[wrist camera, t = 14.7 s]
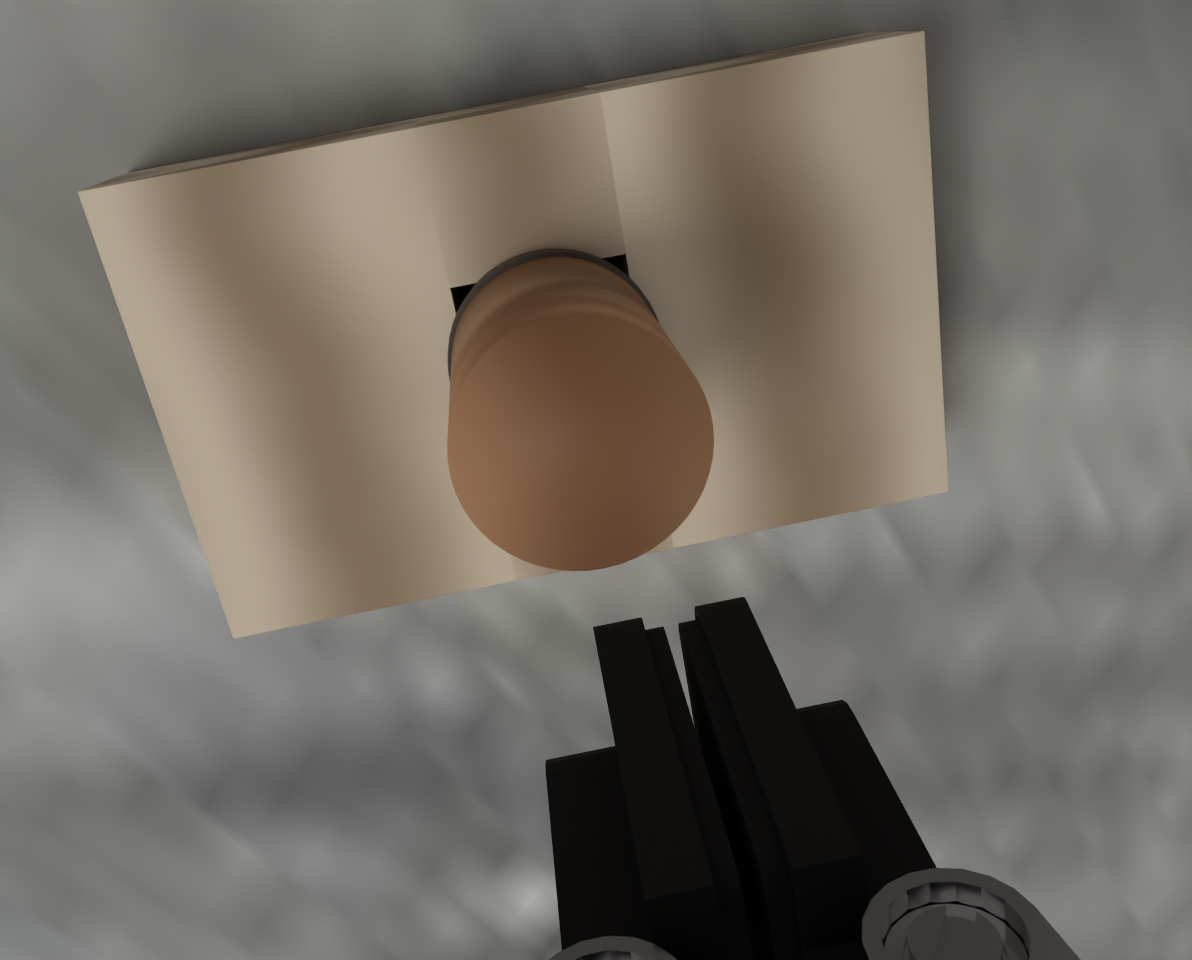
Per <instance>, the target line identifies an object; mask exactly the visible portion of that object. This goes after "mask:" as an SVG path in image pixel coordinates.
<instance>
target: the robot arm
mask: <svg viewBox="0 0 1192 960" xmlns="http://www.w3.org/2000/svg"><path fill="white" fill-rule="evenodd" d="M593 629H594V635H595V640H596V645H597V651H598V656H599V661H600V666H601V672H602V677H603V682H604V688H605V693H606V698H607V704H608V709H609V714H610V719H611V725H612V730H613V735H614V741H615V746H613V747H608V748H603V749H598V750H593V751H588V752H583V753H579V754H574V755H569V756H564V757H559V758H554V759H549V760H546V779H547V790H548V801H549V812H550V823H551V834H552V845H553V856H554V867H555V878H556V889H557V900H558V911H559V922H560V933H561V944H562V951H560V952H558V953H556V954H555V955H554V956H553V957H552V958H550V959H549V960H1080V959H1079V958H1078V956H1077V955H1076V954H1075V953H1074V952H1073V951H1072V949H1071V948H1070V947H1069V946H1068V945H1067V944H1066V942H1065V941H1064V940H1063V939H1062V938H1061V937H1060V935H1059V934H1058V933H1057V932H1056V931H1055V929H1054V928H1053V927H1052V926H1051V925H1050V924H1049V922H1048V921H1047V920H1046V919H1045V918H1044V917H1043V915H1042V914H1041V913H1040V912H1039V911H1038V910H1037V908H1036V907H1035V906H1034V905H1033V904H1031V903H1030V902H1029V901H1028V900H1027V899H1026V898H1025V897H1023V896H1022V895H1021V894H1020V893H1019V892H1018V891H1017V890H1016V889H1014V888H1012V887H1010V886H1008V885H1006V884H1004V883H1002V882H1001V881H999V880H997V879H995V878H993V877H991V876H988V875H984V874H980V873H976V872H972V871H968V870H965V869H951V868H936V866H935V864H934V862H933V860H932V858H931V856H930V855H929V853H928V851H927V849H926V847H925V845H924V843H923V842H922V840H921V838H920V836H919V834H918V832H917V830H916V829H915V827H914V825H913V823H912V821H911V819H910V817H909V816H908V814H907V812H906V810H905V808H904V806H903V804H902V803H901V801H900V799H899V797H898V795H897V793H896V791H895V790H894V788H893V786H892V784H891V782H890V780H889V778H888V777H887V775H886V773H885V771H884V769H883V767H882V765H881V764H880V762H879V760H878V758H877V756H876V754H875V752H874V751H873V749H872V747H871V745H870V743H869V741H868V739H867V737H866V736H865V734H864V732H863V730H862V728H861V726H860V724H859V723H858V721H857V719H856V717H855V715H854V713H853V711H852V710H851V708H850V707H849V705H848V704H847V702H845V701H843V700H839V701H834V702H829V703H824V704H819V705H814V706H809V707H804V708H799V709H796V707H795V705H794V703H793V701H792V699H791V696H790V694H789V692H788V690H787V688H786V686H785V683H784V681H783V679H782V677H781V675H780V673H779V670H778V668H777V666H776V664H775V662H774V659H773V657H772V655H771V653H770V651H769V649H768V646H767V644H766V642H765V640H764V638H763V635H762V633H761V631H760V629H759V627H758V625H757V622H756V620H755V618H754V616H753V614H752V612H751V609H750V607H749V605H748V603H747V601H746V599H745V598H744V597H740V598H735V599H730V600H725V601H720V602H715V603H710V604H705V605H700V606H695V620H693V621H688V622H683V623H679V634H680V641H681V647H682V653H683V659H684V665H685V671H686V678H687V684H688V690H689V696H690V702H691V708H692V714H693V720H694V725H693V721H692V718H691V715H690V712H689V708H688V705H687V702H686V698H685V695H684V692H683V689H682V685H681V682H680V679H679V675H678V672H677V669H676V666H675V662H674V659H673V656H672V652H671V649H670V646H669V643H668V639H667V636H666V633H665V630H664V627H658V628H653V629H648V630H645V628H644V624H643V621H642V618H636V619H631V620H626V621H621V622H616V623H611V624H606V625H601V626H596V627H593ZM694 727H695V728H694Z"/></svg>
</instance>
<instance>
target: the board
mask: <svg viewBox="0 0 1192 960" xmlns="http://www.w3.org/2000/svg"><path fill="white" fill-rule="evenodd" d="M78 194H79V197H80V200H81V202H82V205H83V208H84V211H85V214H86V217H87V220H88V222H89V225H90V228H91V231H92V234H93V237H94V240H95V243H96V245H97V248H98V251H99V254H100V257H101V260H102V263H103V265H104V268H105V271H106V274H107V277H108V280H109V283H110V285H111V288H112V291H113V294H114V297H115V300H116V303H117V306H118V308H119V311H120V314H121V317H122V320H123V323H124V326H125V328H126V331H127V334H128V337H129V340H130V343H131V346H132V349H133V351H134V354H135V357H136V360H137V363H138V366H139V369H140V371H141V374H142V377H143V380H144V383H145V386H146V389H147V392H148V394H149V397H150V400H151V403H152V406H153V409H154V412H155V414H156V417H157V420H158V423H159V426H160V429H161V432H162V435H163V437H164V440H165V443H166V446H167V449H168V452H169V455H170V457H171V460H172V463H173V466H174V469H175V472H176V475H177V478H178V480H179V483H180V486H181V489H182V492H183V495H184V498H185V500H186V503H187V506H188V509H189V512H190V515H191V518H192V521H193V523H194V526H195V529H196V532H197V535H198V538H199V541H200V543H201V546H202V549H203V552H204V555H205V558H206V561H207V564H208V566H209V569H210V572H211V575H212V578H213V581H214V584H215V586H216V589H217V592H218V595H219V598H220V601H221V604H222V607H223V609H224V612H225V615H226V618H227V621H228V624H229V627H230V629H231V632H232V635H233V638H239V637H244V636H249V635H254V634H259V633H264V632H268V631H273V630H278V629H283V628H288V627H293V626H298V625H302V624H307V623H312V622H317V621H322V620H327V619H332V618H337V617H341V616H346V615H351V614H356V613H361V612H366V611H371V610H375V609H380V608H385V607H390V606H395V605H400V604H405V603H410V602H414V601H419V600H424V599H429V598H434V597H439V596H444V595H448V594H453V593H458V592H463V591H468V590H473V589H478V588H482V587H487V586H492V585H497V584H502V583H507V582H512V581H517V580H521V579H526V578H531V577H536V576H541V575H546V574H551V573H555V572H560V571H565V570H555V569H550V568H546V567H541V566H537V565H534V564H531V563H529V562H526V561H523V560H521V559H519V558H517V557H515V556H513V555H511V554H509V553H507V552H506V551H504V550H503V549H501V548H500V547H498V546H497V545H495V544H494V543H493V542H491V541H490V540H489V539H488V538H487V537H486V536H485V535H483V534H482V533H481V531H480V530H479V529H478V528H477V527H476V526H475V525H474V524H473V522H472V521H471V520H470V518H469V517H468V515H467V514H466V512H465V511H464V509H463V508H462V506H461V504H460V501H459V499H458V497H457V495H456V493H455V490H454V487H453V484H452V481H451V478H450V472H449V466H448V457H447V437H448V417H449V398H450V379H449V373H448V344H449V336H450V332H451V328H452V324H453V321H454V318H455V316H456V313H457V311H458V309H459V307H460V305H461V303H462V300H461V296H460V291H459V286H464V285H469V284H474V283H477V282H478V281H479V280H480V279H481V278H482V277H483V276H484V275H485V274H487V273H488V272H489V271H491V270H492V269H493V268H495V267H496V266H498V265H500V264H501V263H503V262H505V261H507V260H508V259H511V258H513V257H516V256H518V255H521V254H524V253H528V252H532V251H536V250H543V249H569V250H577V251H581V252H585V253H588V254H592V255H594V256H597V257H599V258H601V259H602V258H607V257H612V262H613V265H614V266H616V267H618V268H619V269H620V270H621V271H623V272H624V273H625V274H626V275H628V276H629V277H630V278H631V279H632V280H633V281H634V282H635V284H636V285H637V286H638V287H639V288H640V290H641V291H642V292H643V294H644V295H645V296H646V298H647V299H648V301H649V302H650V304H651V306H652V308H653V310H654V312H655V313H656V316H657V319H658V321H659V324H660V326H661V327H662V329H663V330H664V331H665V333H666V334H667V336H668V337H669V339H670V340H671V342H672V343H673V345H674V346H675V348H676V349H677V351H678V352H679V354H680V355H681V356H682V358H683V359H684V361H685V362H686V364H687V365H688V367H689V368H690V370H691V371H692V373H693V374H694V376H695V377H696V379H697V380H698V382H699V384H700V386H701V388H702V390H703V392H704V394H705V397H706V400H707V402H708V405H709V408H710V412H711V417H712V422H713V431H714V450H713V459H712V464H711V469H710V474H709V476H708V479H707V482H706V485H705V488H704V490H703V492H702V494H701V496H700V498H699V500H698V502H697V504H696V505H695V507H694V508H693V510H692V511H691V513H690V514H689V516H688V517H687V518H686V519H685V520H684V522H683V523H682V524H681V525H680V526H679V527H678V528H677V529H676V530H675V531H674V532H673V533H672V534H671V535H670V536H669V537H668V538H666V539H665V540H664V541H663V542H661V543H660V544H658V545H657V546H656V547H654V548H653V549H651V550H650V551H648V552H646V553H644V554H648V553H653V552H658V551H662V550H667V549H672V548H677V547H682V546H687V545H692V544H696V543H701V542H706V541H711V540H716V539H721V538H726V537H731V536H735V535H740V534H745V533H750V532H755V531H760V530H765V529H769V528H774V527H779V526H784V525H789V524H794V523H799V522H804V521H808V520H813V519H818V518H823V517H828V516H833V515H838V514H842V513H847V512H852V511H857V510H862V509H867V508H872V507H876V506H881V505H886V504H891V503H896V502H901V501H906V500H911V499H915V498H920V497H925V496H930V495H935V494H940V493H945V492H948V477H947V458H946V439H945V419H944V400H943V380H942V361H941V342H940V322H939V303H938V283H937V264H936V245H935V225H934V206H933V187H932V167H931V148H930V128H929V109H928V90H927V70H926V51H925V32H924V31H904V32H867V33H861V34H856V35H851V36H846V37H840V38H835V39H830V40H824V41H819V42H814V43H809V44H803V45H798V46H793V47H788V48H782V49H777V50H772V51H766V52H761V53H756V54H751V55H745V56H740V57H735V58H730V59H724V60H719V61H714V62H708V63H703V64H698V65H693V66H687V67H682V68H677V69H672V70H666V71H661V72H656V73H650V74H645V75H640V76H635V77H629V78H624V79H619V80H614V81H608V82H603V83H598V84H592V85H587V86H582V87H577V88H571V89H566V90H561V91H556V92H550V93H545V94H540V95H534V96H529V97H524V98H519V99H513V100H508V101H503V102H498V103H492V104H487V105H482V106H476V107H471V108H466V109H461V110H455V111H450V112H445V113H440V114H434V115H429V116H424V117H418V118H413V119H408V120H403V121H397V122H392V123H387V124H382V125H376V126H371V127H366V128H360V129H355V130H350V131H345V132H339V133H334V134H329V135H324V136H318V137H313V138H308V139H302V140H297V141H292V142H287V143H281V144H276V145H271V146H266V147H260V148H255V149H250V150H244V151H239V152H234V153H229V154H223V155H218V156H213V157H208V158H202V159H197V160H192V161H186V162H181V163H176V164H171V165H165V166H160V167H155V168H150V169H144V170H139V171H134V172H128V173H126V174H123V175H120V176H118V177H115V178H113V179H110V180H107V181H105V182H102V183H100V184H97V185H94V186H92V187H89V188H87V189H84V190H81V191H79V192H78ZM642 555H643V554H642Z"/></svg>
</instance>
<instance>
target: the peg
mask: <svg viewBox="0 0 1192 960" xmlns="http://www.w3.org/2000/svg"><path fill="white" fill-rule="evenodd" d="M448 373H449V379H450V398H449V417H448V437H447V457H448V466H449V472H450V478H451V481H452V484H453V487H454V490H455V493H456V495H457V497H458V499H459V501H460V504H461V506H462V508H463V509H464V511H465V512H466V514H467V515H468V517H469V518H470V520H471V521H472V522H473V524H474V525H475V526H476V527H477V528H478V529H479V530H480V531H481V533H482V534H483V535H485V536H486V537H487V538H488V539H489V540H490V541H491V542H493V543H494V544H495V545H497V546H498V547H500V548H501V549H503V550H504V551H506V552H507V553H509V554H511V555H513V556H515V557H517V558H519V559H521V560H523V561H526V562H529V563H531V564H534V565H537V566H541V567H546V568H550V569H555V570H566V571H588V570H595V569H602V568H607V567H611V566H615V565H618V564H622V563H624V562H627V561H629V560H632V559H634V558H637V557H639V556H640V555H642V554H644V553H646V552H648V551H650V550H651V549H653V548H654V547H656V546H657V545H658V544H660V543H661V542H663V541H664V540H665V539H666V538H668V537H669V536H670V535H671V534H672V533H673V532H674V531H675V530H676V529H677V528H678V527H679V526H680V525H681V524H682V523H683V522H684V520H685V519H686V518H687V517H688V516H689V514H690V513H691V511H692V510H693V508H694V507H695V505H696V504H697V502H698V500H699V498H700V496H701V494H702V492H703V490H704V488H705V485H706V482H707V479H708V476H709V474H710V469H711V464H712V459H713V450H714V431H713V422H712V417H711V412H710V408H709V405H708V402H707V400H706V397H705V394H704V392H703V390H702V388H701V386H700V384H699V382H698V380H697V379H696V377H695V376H694V374H693V373H692V371H691V370H690V368H689V367H688V365H687V364H686V362H685V361H684V359H683V358H682V356H681V355H680V354H679V352H678V351H677V349H676V348H675V346H674V345H673V343H672V342H671V340H670V339H669V337H668V336H667V334H666V333H665V331H664V330H663V329H662V327H661V326H660V324H659V321H658V319H657V316H656V313H655V312H654V310H653V308H652V306H651V304H650V302H649V301H648V299H647V298H646V296H645V295H644V294H643V292H642V291H641V290H640V288H639V287H638V286H637V285H636V284H635V282H634V281H633V280H632V279H631V278H630V277H629V276H628V275H626V274H625V273H624V272H623V271H621V270H620V269H619V268H618V267H616V266H614V265H613V264H611V263H609V262H608V261H606V260H604V259H601V258H599V257H597V256H594V255H592V254H588V253H585V252H581V251H577V250H569V249H543V250H536V251H532V252H528V253H524V254H521V255H518V256H516V257H513V258H511V259H508V260H507V261H505V262H503V263H501V264H500V265H498V266H496V267H495V268H493V269H492V270H491V271H489V272H488V273H487V274H485V275H484V276H483V277H482V278H481V279H480V280H479V281H478V282H477V283H476V284H475V285H474V286H473V287H472V289H471V290H470V291H469V293H468V294H467V295H466V297H465V298H464V300H463V302H462V303H461V305H460V307H459V309H458V311H457V313H456V316H455V318H454V321H453V324H452V328H451V332H450V336H449V344H448Z"/></svg>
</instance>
